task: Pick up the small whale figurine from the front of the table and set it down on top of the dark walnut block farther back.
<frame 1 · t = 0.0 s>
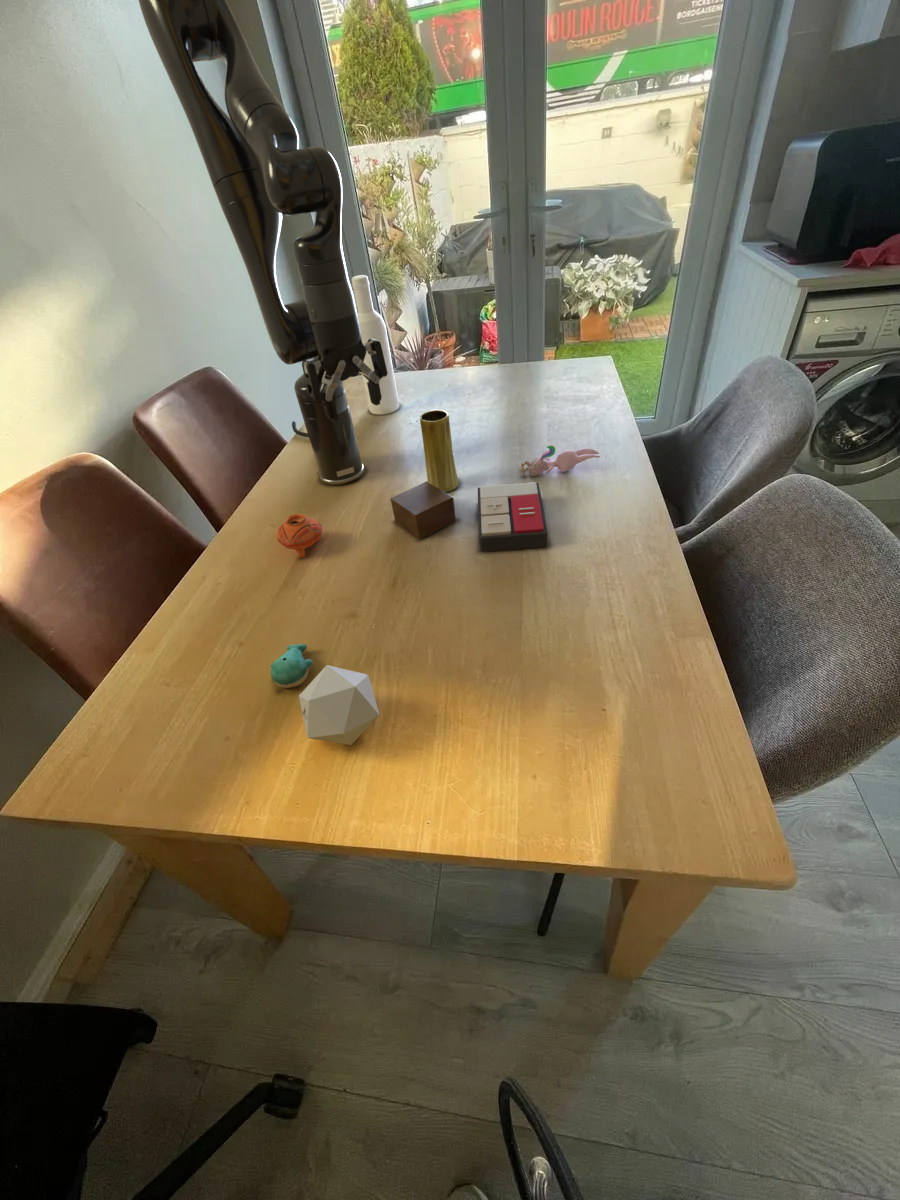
hand: (355, 411, 97), 17 cm above the table, tool pointing down, fingers open, 8 cm apart
calculator: (511, 525, 96), on the table
bottle: (384, 409, 142), on the table
vase: (443, 486, 109), on the table
die: (347, 726, 68), on the table
whale figurine: (295, 671, 76), on the table
walnut block: (425, 521, 100), on the table
pot: (305, 548, 98), on the table
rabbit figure: (559, 472, 108), on the table
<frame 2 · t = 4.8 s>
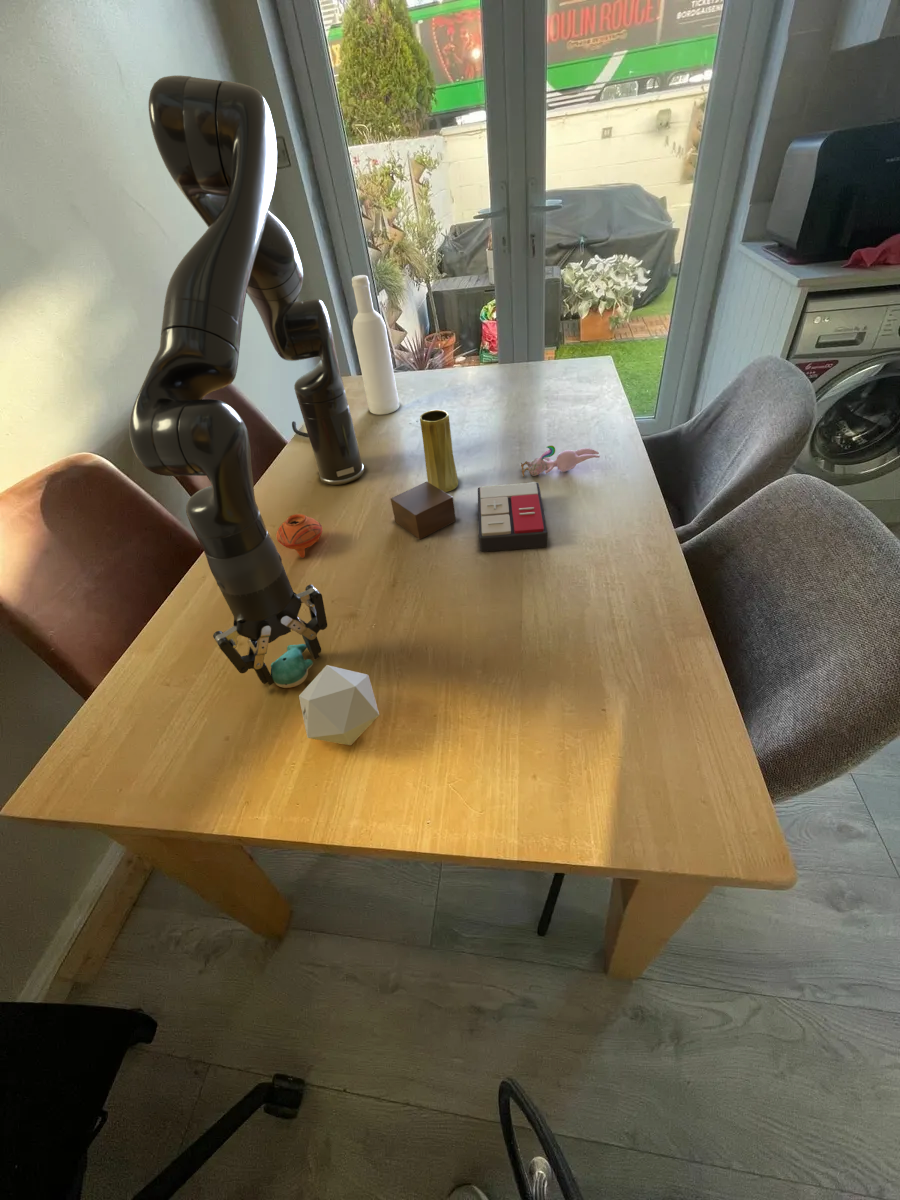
hand: (292, 667, 75), 1 cm above the table, tool pointing down, fingers closed on whale figurine, 6 cm apart
whale figurine: (295, 671, 76), on the table, touching gripper
everything else where it was.
when the fingers open (6 cm above the table, at t = 12.0 s): whale figurine stays where it is, resting on walnut block.
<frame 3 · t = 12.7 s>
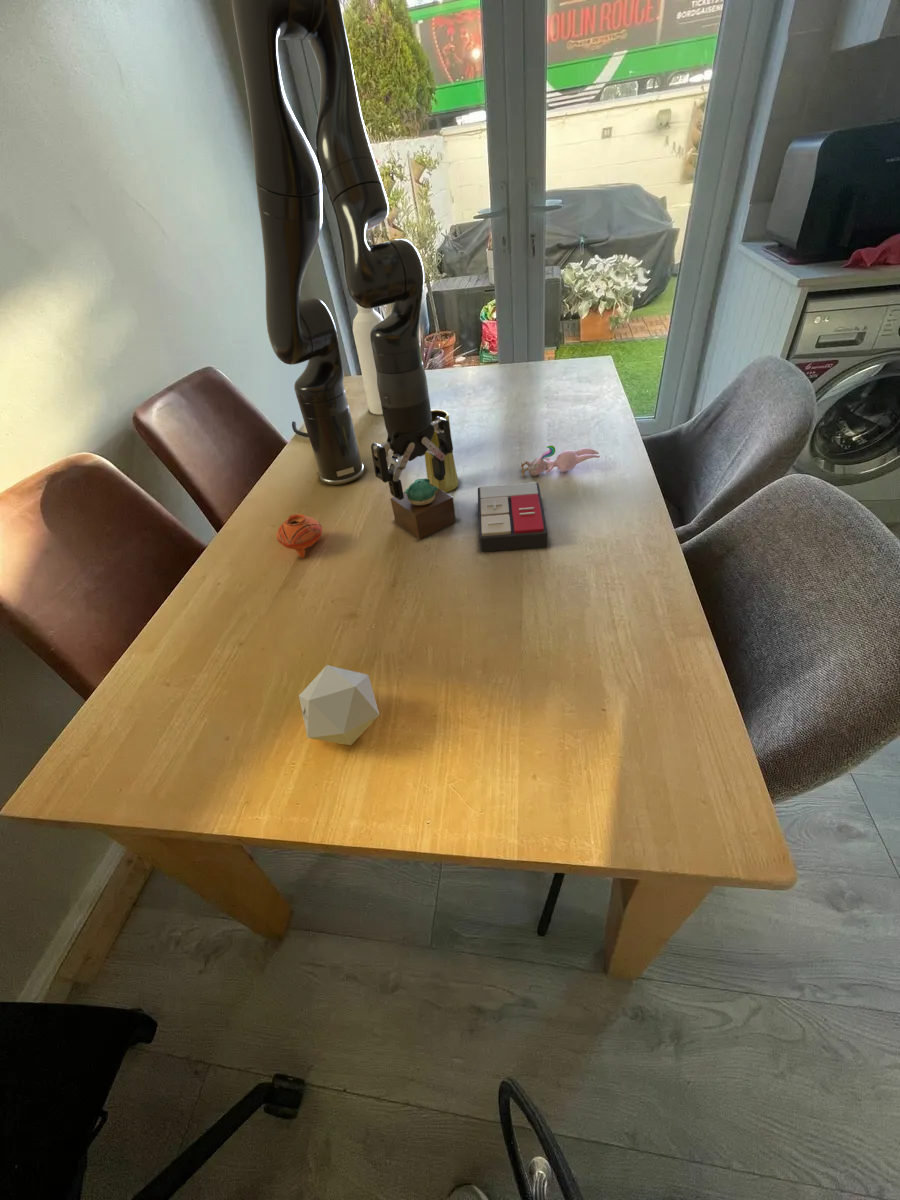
hand: (419, 488, 95), 7 cm above the table, tool pointing down, fingers open, 8 cm apart
whale figurine: (422, 498, 97), point 5 cm above the table, touching walnut block
everything else where it was.
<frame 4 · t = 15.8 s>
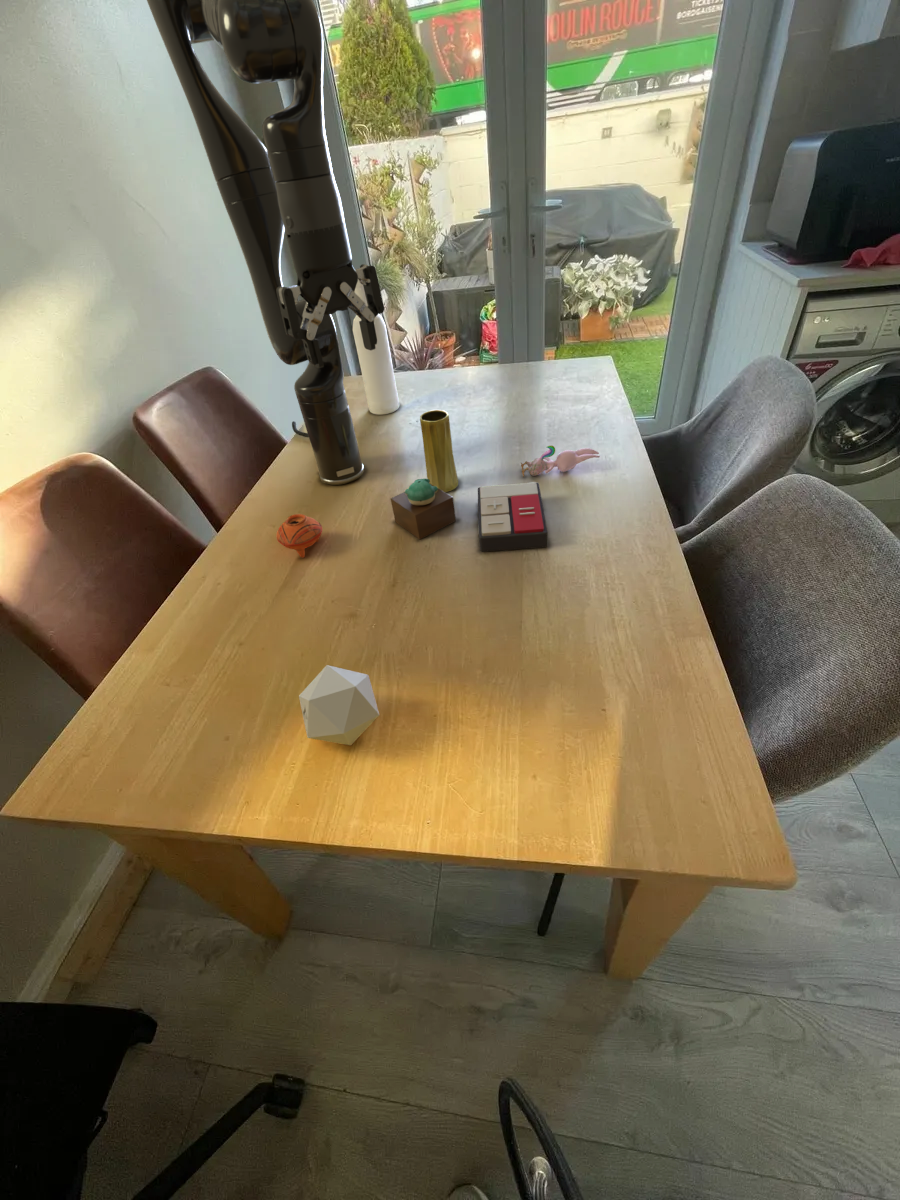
hand: (344, 357, 79), 30 cm above the table, tool pointing down, fingers open, 8 cm apart
nothing on the table moved.
at the end: whale figurine inside the target area on the walnut block (0.2 cm from its centre), point 4.8 cm above the walnut block's base; the gripper is holding nothing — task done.
